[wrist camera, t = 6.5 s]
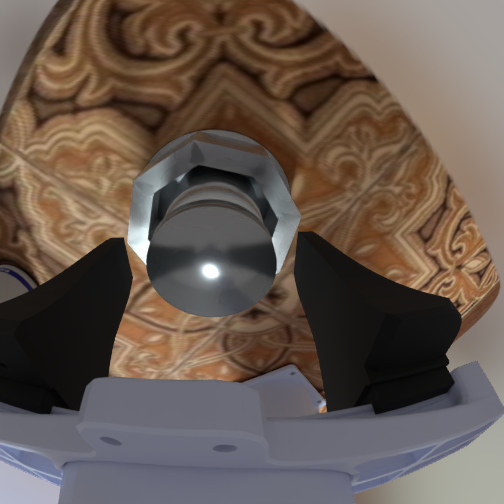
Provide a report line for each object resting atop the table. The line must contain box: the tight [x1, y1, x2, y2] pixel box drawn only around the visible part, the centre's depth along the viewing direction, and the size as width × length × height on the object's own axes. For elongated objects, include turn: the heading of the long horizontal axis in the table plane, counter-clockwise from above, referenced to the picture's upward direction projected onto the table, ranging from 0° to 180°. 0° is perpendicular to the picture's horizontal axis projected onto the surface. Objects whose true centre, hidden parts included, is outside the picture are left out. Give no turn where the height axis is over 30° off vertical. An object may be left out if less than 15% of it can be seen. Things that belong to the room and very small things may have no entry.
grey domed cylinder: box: [146, 165, 277, 317], centre depth 13 cm, size 5×5×6 cm
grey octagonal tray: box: [128, 129, 301, 274], centre depth 15 cm, size 8×8×3 cm
